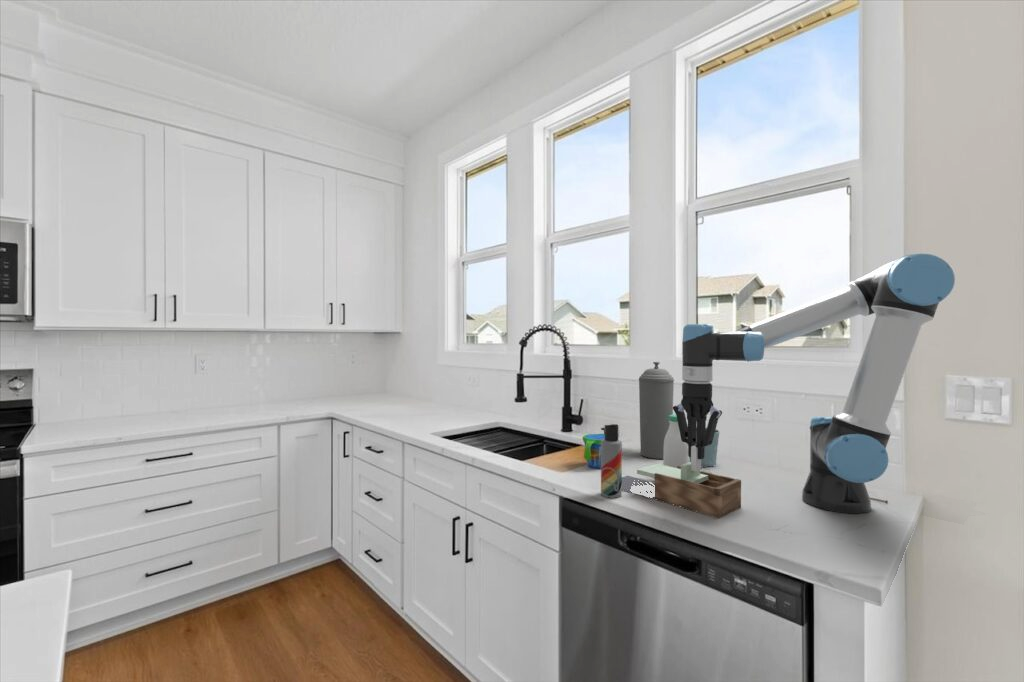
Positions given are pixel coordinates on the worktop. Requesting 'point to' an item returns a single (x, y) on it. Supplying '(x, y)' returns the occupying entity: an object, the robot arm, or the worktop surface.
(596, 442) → the snack cup
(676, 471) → the lid
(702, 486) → the walnut box
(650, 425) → the canister
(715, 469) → the worktop surface
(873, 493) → the worktop surface
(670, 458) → the milk bottle
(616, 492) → the lotion bottle
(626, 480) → the mat
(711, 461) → the teal cup
